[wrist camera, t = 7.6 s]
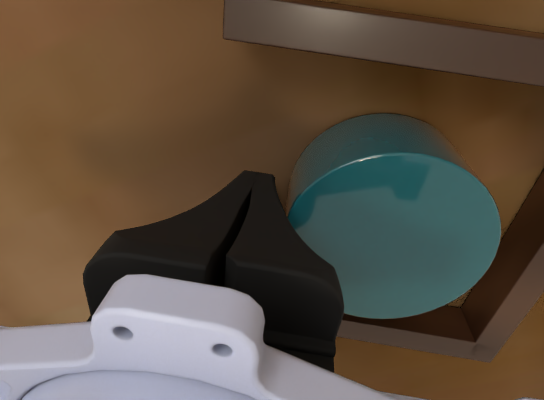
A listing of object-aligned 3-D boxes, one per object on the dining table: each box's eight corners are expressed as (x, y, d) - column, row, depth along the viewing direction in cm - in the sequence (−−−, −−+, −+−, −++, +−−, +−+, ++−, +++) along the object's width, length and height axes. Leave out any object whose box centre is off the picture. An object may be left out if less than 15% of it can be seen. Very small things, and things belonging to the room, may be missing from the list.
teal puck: (426, 270, 17) (450, 333, 14) (278, 245, 17) (269, 302, 14) (496, 129, 13) (547, 174, 10) (304, 98, 13) (300, 135, 10)
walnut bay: (474, 327, 18) (490, 363, 17) (220, 284, 19) (210, 315, 17) (657, 49, 11) (717, 63, 10) (237, -11, 12) (224, -9, 10)
